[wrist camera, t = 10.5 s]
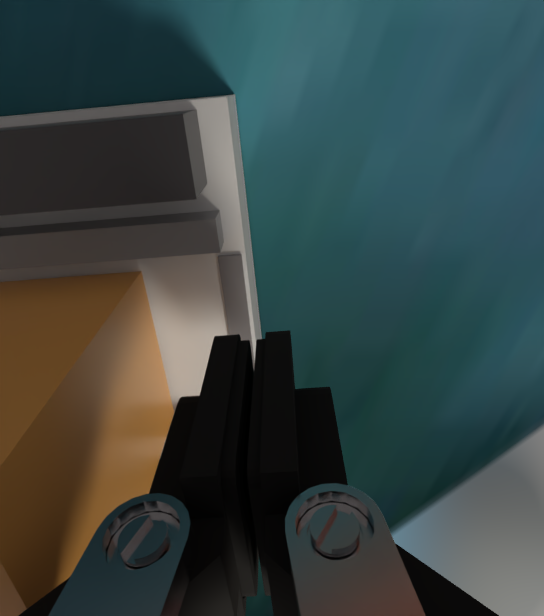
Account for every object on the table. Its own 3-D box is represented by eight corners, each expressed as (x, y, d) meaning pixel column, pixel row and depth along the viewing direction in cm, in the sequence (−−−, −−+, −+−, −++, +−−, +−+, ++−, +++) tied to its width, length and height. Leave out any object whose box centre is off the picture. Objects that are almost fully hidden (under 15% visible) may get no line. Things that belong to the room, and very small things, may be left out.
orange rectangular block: (-32, 284, 11) (-416, 534, 5) (141, 270, 11) (-35, 515, 5) (26, 421, 13) (-198, 723, 7) (174, 412, 13) (79, 715, 7)
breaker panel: (-278, 142, 12) (-477, 163, 9) (235, 94, 11) (218, 99, 8) (-83, 466, 18) (-164, 552, 14) (273, 446, 17) (272, 531, 14)
